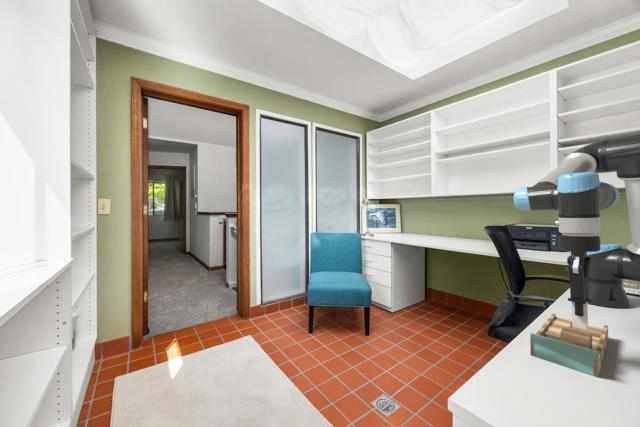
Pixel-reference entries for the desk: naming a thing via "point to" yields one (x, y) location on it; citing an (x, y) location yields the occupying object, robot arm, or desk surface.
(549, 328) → the tray
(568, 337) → the block
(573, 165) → the robot arm
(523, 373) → the desk surface
